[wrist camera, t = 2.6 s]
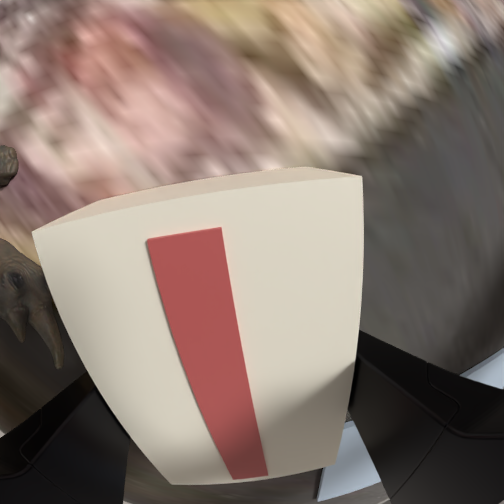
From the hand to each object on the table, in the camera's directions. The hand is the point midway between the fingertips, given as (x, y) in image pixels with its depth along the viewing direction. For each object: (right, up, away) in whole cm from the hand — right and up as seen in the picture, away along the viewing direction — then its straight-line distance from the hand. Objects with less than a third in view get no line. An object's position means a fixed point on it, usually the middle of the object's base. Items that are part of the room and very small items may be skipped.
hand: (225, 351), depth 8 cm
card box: (0, 0, +1) cm, 1 cm away
